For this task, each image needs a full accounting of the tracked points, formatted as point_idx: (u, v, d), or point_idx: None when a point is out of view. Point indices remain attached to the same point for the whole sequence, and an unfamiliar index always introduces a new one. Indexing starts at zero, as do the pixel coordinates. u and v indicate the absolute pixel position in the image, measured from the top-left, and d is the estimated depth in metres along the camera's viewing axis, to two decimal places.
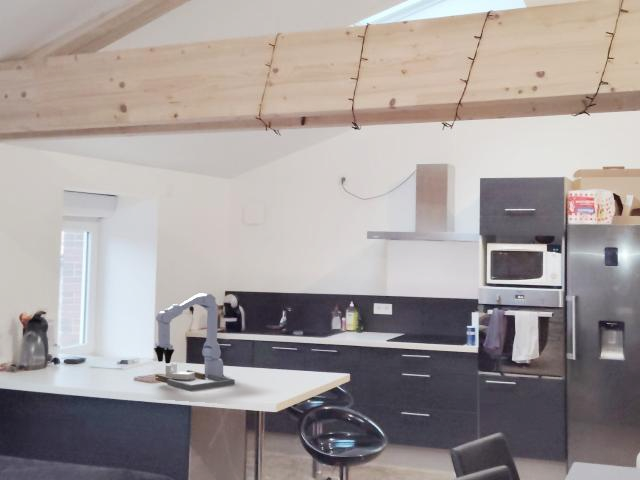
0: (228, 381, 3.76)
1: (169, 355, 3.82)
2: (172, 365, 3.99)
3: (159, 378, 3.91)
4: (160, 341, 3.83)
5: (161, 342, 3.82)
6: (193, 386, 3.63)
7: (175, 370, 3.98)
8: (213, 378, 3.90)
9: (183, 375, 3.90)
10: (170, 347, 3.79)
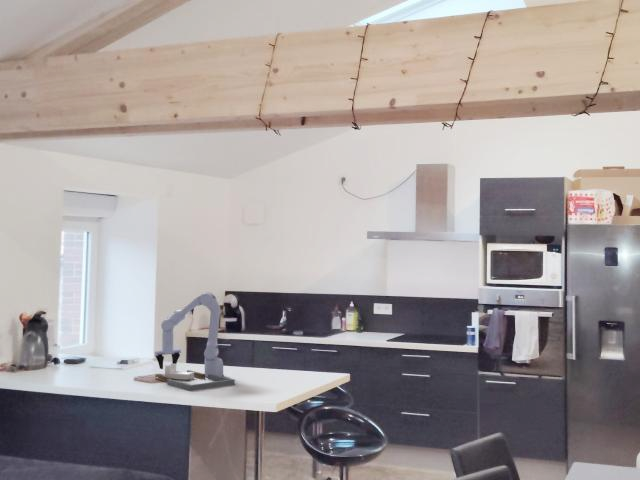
0: (228, 381, 3.76)
1: None
2: (171, 365, 3.99)
3: (159, 378, 3.91)
4: None
5: None
6: (193, 386, 3.63)
7: (174, 370, 3.98)
8: (213, 378, 3.90)
9: (182, 375, 3.90)
10: (155, 353, 4.00)
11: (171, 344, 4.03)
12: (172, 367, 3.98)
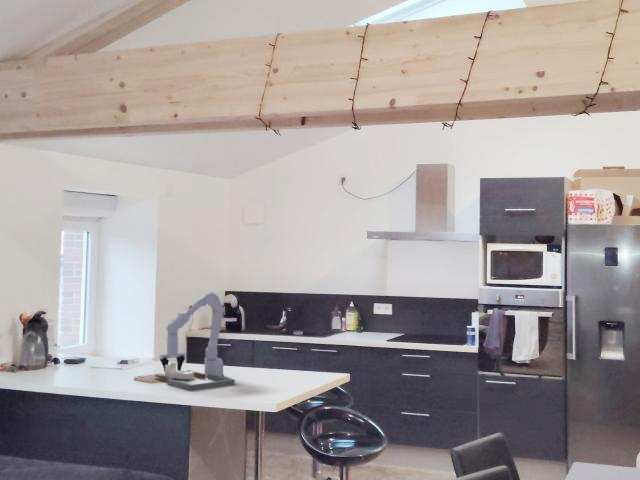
0: (228, 381, 3.76)
1: None
2: (171, 364, 3.98)
3: (159, 378, 3.91)
4: None
5: None
6: (193, 386, 3.63)
7: (174, 369, 3.98)
8: (213, 378, 3.90)
9: (182, 374, 3.90)
10: (159, 357, 3.96)
11: (176, 347, 3.99)
12: (172, 366, 3.98)
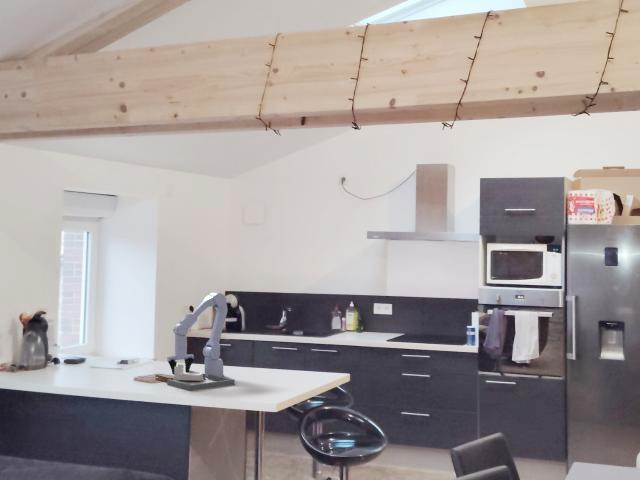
0: (228, 381, 3.76)
1: (173, 367, 3.91)
2: (179, 366, 3.92)
3: (159, 378, 3.91)
4: None
5: None
6: (193, 386, 3.63)
7: (182, 371, 3.92)
8: (213, 378, 3.90)
9: (194, 376, 3.85)
10: (167, 358, 3.90)
11: (184, 349, 3.92)
12: (180, 368, 3.92)
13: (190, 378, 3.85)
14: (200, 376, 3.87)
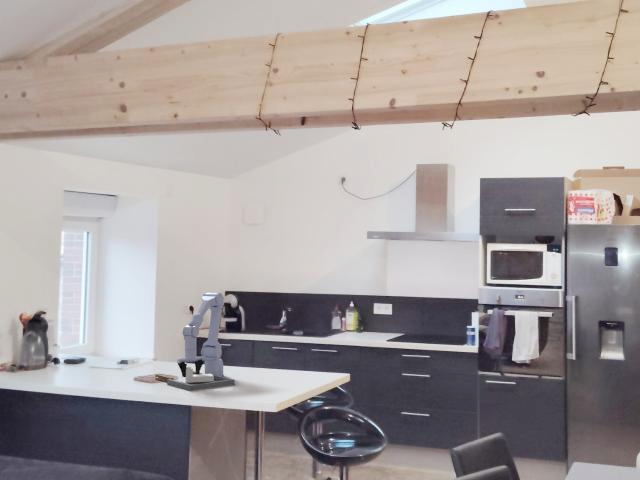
0: (228, 381, 3.76)
1: None
2: (187, 369, 3.85)
3: (159, 378, 3.91)
4: None
5: None
6: (193, 386, 3.63)
7: None
8: None
9: (208, 377, 3.82)
10: (177, 361, 3.82)
11: (194, 351, 3.85)
12: None
13: (204, 379, 3.82)
14: None
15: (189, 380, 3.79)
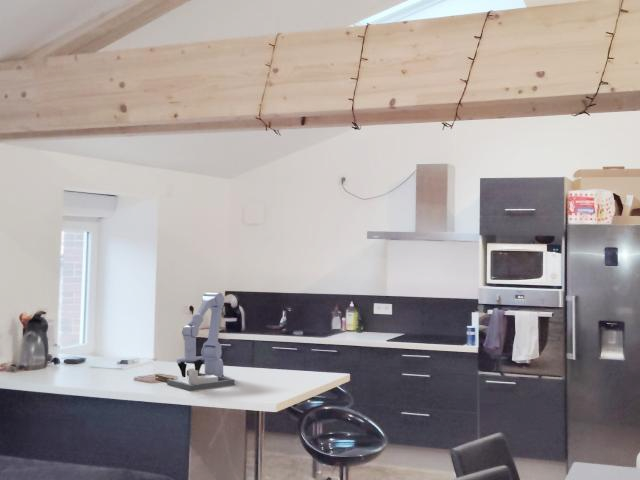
0: (228, 381, 3.76)
1: None
2: (190, 370, 3.82)
3: (159, 378, 3.91)
4: None
5: None
6: (193, 386, 3.63)
7: None
8: None
9: (212, 378, 3.81)
10: (177, 361, 3.82)
11: (194, 351, 3.85)
12: (192, 372, 3.81)
13: (209, 381, 3.80)
14: None
15: (194, 382, 3.76)
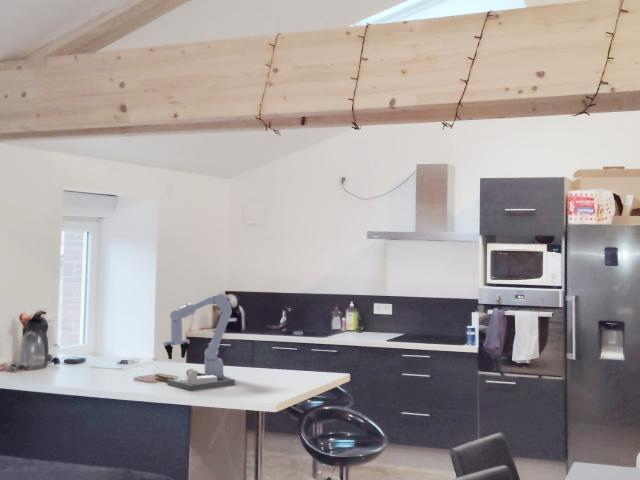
0: (228, 381, 3.76)
1: None
2: (189, 370, 3.82)
3: (159, 378, 3.91)
4: None
5: None
6: (193, 386, 3.63)
7: None
8: None
9: (212, 378, 3.80)
10: (164, 343, 3.99)
11: (180, 334, 4.02)
12: None
13: (208, 381, 3.79)
14: None
15: (193, 382, 3.76)
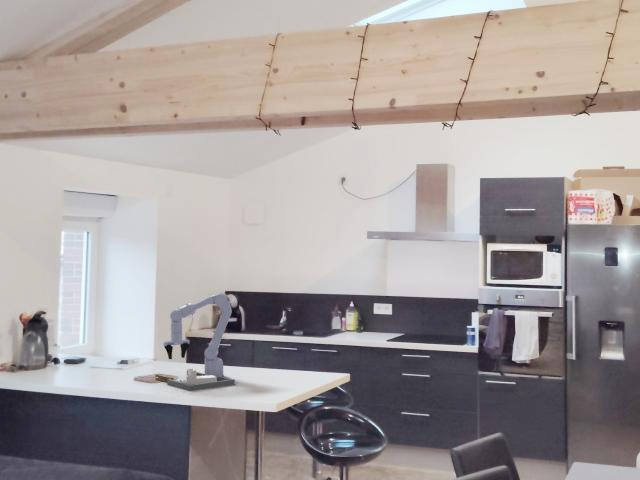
0: (228, 381, 3.76)
1: None
2: (189, 370, 3.81)
3: (159, 378, 3.91)
4: None
5: None
6: (193, 386, 3.63)
7: None
8: None
9: (211, 378, 3.80)
10: (164, 343, 3.99)
11: (180, 334, 4.02)
12: (191, 372, 3.81)
13: (207, 381, 3.79)
14: None
15: (193, 382, 3.76)
